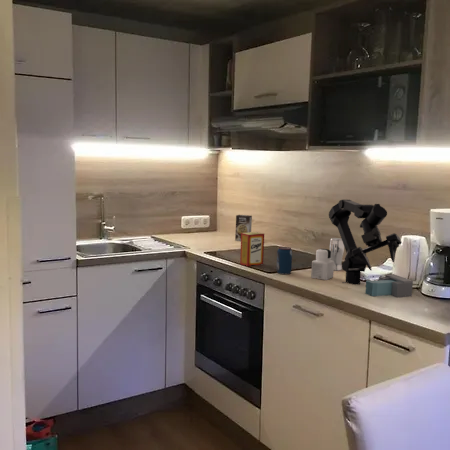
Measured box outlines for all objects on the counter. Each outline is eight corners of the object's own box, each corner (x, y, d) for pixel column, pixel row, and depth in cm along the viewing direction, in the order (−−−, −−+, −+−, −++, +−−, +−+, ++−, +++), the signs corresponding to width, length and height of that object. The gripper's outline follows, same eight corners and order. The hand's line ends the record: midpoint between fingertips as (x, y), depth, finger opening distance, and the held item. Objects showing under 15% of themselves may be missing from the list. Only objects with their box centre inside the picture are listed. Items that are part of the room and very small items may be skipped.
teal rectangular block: (365, 293, 216) (366, 280, 215) (394, 291, 220) (395, 278, 220) (372, 296, 211) (373, 283, 211) (402, 294, 216) (402, 281, 216)
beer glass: (325, 269, 265) (327, 238, 263) (332, 267, 270) (334, 237, 268) (338, 271, 261) (340, 240, 259) (345, 269, 266) (347, 239, 264)
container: (317, 274, 252) (318, 247, 250) (333, 277, 248) (334, 249, 246) (310, 277, 246) (312, 249, 244) (327, 280, 241) (328, 251, 240)
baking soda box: (247, 266, 267) (248, 234, 264) (240, 263, 272) (241, 232, 270) (263, 264, 272) (264, 233, 270) (255, 262, 277) (256, 231, 275)
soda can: (294, 273, 254) (295, 247, 253) (285, 275, 249) (287, 249, 247) (281, 270, 259) (282, 245, 257) (273, 272, 253) (274, 247, 252)
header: (378, 292, 222) (379, 274, 221) (392, 291, 225) (393, 274, 224) (396, 300, 211) (398, 281, 210) (411, 298, 213) (412, 280, 213)
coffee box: (234, 240, 344) (235, 215, 342) (237, 239, 350) (238, 214, 348) (248, 241, 342) (249, 216, 340) (251, 240, 348) (252, 215, 346)
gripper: (342, 233, 216) (351, 268, 208) (386, 214, 208) (398, 250, 200) (353, 242, 224) (362, 276, 216) (396, 225, 216) (407, 260, 208)
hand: (381, 266), depth 210 cm, fingers open, 9 cm apart
